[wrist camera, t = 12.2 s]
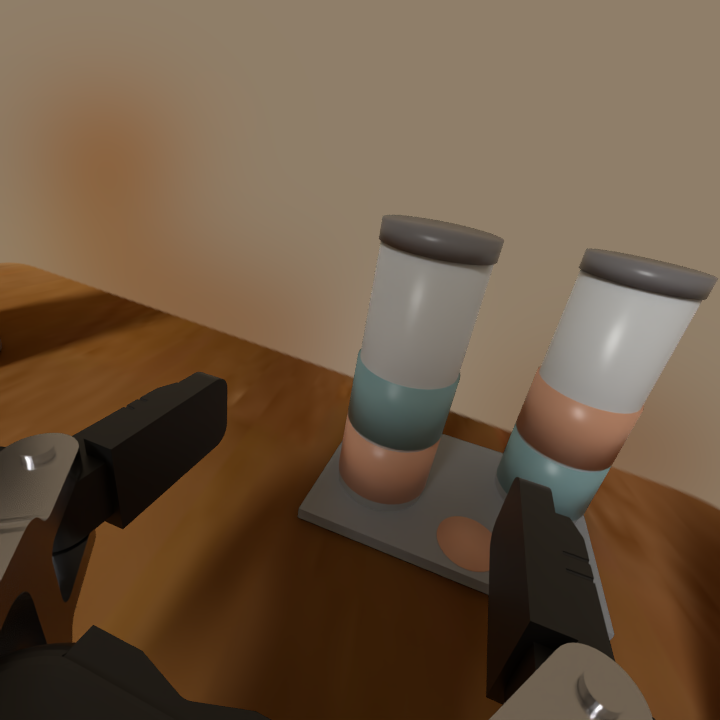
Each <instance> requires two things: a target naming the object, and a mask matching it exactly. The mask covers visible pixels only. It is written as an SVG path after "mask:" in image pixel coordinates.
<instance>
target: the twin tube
mask: <svg viewBox="0 0 720 720" xmlns="http://www.w3.org/2000/svg"><path fill="white" fill-rule="evenodd" d="M579 268H580V269H581V270H580V272H579V275H578V277H577V280H576V282H575V284H574V287H573V290H572V292H571V294H570V297H569V299H568V302H567V304H566V307H565V309H564V312H563V314H562V316H561V319H560V321H559V324H558V326H557V328H556V331H555V333H554V336H553V338H552V341H551V343H550V346H549V348H548V350H547V353H546V355H545V358H544V360H543V363H542V365H541V366H540V367H539V368H538V370H537V372H536V374H535V377H534V379H533V382H532V384H531V387H530V389H529V392H528V394H527V396H526V399H525V401H524V404H523V406H522V409H521V412H520V414H519V416H518V419H517V421H516V424H515V426H514V428H513V431H512V433H511V436H510V438H509V441H508V443H507V446H506V448H505V451H504V453H503V456H502V458H501V460H500V463H499V465H498V468H497V475H496V478H495V484H496V488H497V490H498V493H499V494H500V496H501V497H502V499H503V500H504V501H505V499H506V496H507V494H508V492H509V489H510V487H511V485H512V483H513V481H514V479H515V478H516V477H519V478H522V479H525V480H528V481H531V482H534V483H538V484H541V485H544V486H547V487H549V488H550V489H551V491H552V496H553V501H554V507H555V512H556V513H558V514H561V515H564V516H567V517H570V519H571V520H572V522H573V523H574V524H575V523H576V522H577V521H578V519H579V518H581V517H582V516H583V515H584V513H585V511H586V509H587V508H588V506H589V504H590V502H591V501H592V499H593V497H594V495H595V494H596V492H597V490H598V488H599V487H600V485H601V483H602V481H603V480H604V478H605V476H606V474H607V473H608V471H609V469H610V467H611V465H612V464H613V462H614V460H615V459H616V457H617V455H618V453H619V451H620V450H621V448H622V446H623V445H624V443H625V441H626V439H627V437H628V436H629V434H630V432H631V431H632V429H633V427H634V425H635V423H636V422H637V420H638V418H639V417H640V415H641V413H642V411H643V410H644V405H643V404H644V402H645V401H646V399H647V397H648V395H649V393H650V392H651V390H652V388H653V387H654V385H655V383H656V381H657V379H658V378H659V376H660V374H661V372H662V371H663V369H664V367H665V365H666V364H667V362H668V360H669V358H670V357H671V355H672V353H673V351H674V349H675V348H676V346H677V344H678V342H679V341H680V339H681V337H682V335H683V333H684V332H685V330H686V328H687V327H688V325H689V323H690V321H691V319H692V318H693V316H694V314H695V312H696V311H697V309H698V307H699V305H700V304H701V302H702V300H705V299H707V297H708V296H709V294H710V292H711V290H712V289H713V287H714V285H715V283H716V281H717V280H718V278H717V277H715V276H712V275H710V274H707V273H704V272H700V271H697V270H694V269H690V268H686V267H683V266H678V265H675V264H671V263H666V262H662V261H658V260H653V259H649V258H644V257H639V256H634V255H629V254H624V253H619V252H613V251H607V250H600V249H586V251H585V254H584V256H583V259H582V262H581V264H580V266H579Z"/></svg>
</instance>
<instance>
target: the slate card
mask: <svg viewBox="0 0 720 720" xmlns="http://www.w3.org/2000/svg"><path fill="white" fill-rule="evenodd" d="M342 442H343V441H342ZM342 442H341V444H340V445H339V447H338V448H337V450H336V451H335V453H334V454H333V456H332V458H331V459H330V461H329V462H328V464H327V465H326V467H325V468H324V470H323V472H322V473H321V475H320V476H319V478H318V479H317V481H316V482H315V484H314V485H313V487H312V489H311V490H310V492H309V493H308V495H307V496H306V498H305V499H304V501H303V503H302V504H301V506H300V507H299V510H298V518H301V519H303V520H306V521H308V522H311V523H313V524H316V525H318V526H320V527H323V528H325V529H328V530H330V531H333V532H335V533H338V534H340V535H343V536H345V537H347V538H350V539H352V540H355V541H357V542H360V543H362V544H365V545H367V546H370V547H372V548H375V549H377V550H379V551H382V552H384V553H387V554H389V555H392V556H394V557H397V558H399V559H402V560H404V561H406V562H409V563H411V564H414V565H416V566H419V567H421V568H424V569H426V570H429V571H431V572H434V573H436V574H438V575H441V576H443V577H446V578H448V579H451V580H453V581H456V582H458V583H461V584H463V585H465V586H468V587H470V588H473V589H475V590H478V591H480V592H483V593H485V594H488V595H489V558H490V541H491V536H492V531H493V528H494V524H495V522H496V519H497V517H498V515H499V512H500V510H501V508H502V505H503V503H504V500H503V499H502V497H501V496H500V494H499V493H498V490H497V488H496V484H495V478H496V475H497V468H498V465H499V463H500V460H501V458H502V456H503V453H500V452H497V451H494V450H491V449H488V448H485V447H482V446H478V445H475V444H472V443H469V442H466V441H463V440H460V439H457V438H454V437H451V436H448V435H445V434H442V435H441V439H440V442H439V445H438V448H437V451H436V454H435V457H434V460H433V463H432V466H431V470H430V473H429V476H428V479H427V482H426V485H425V488H424V490H423V491H422V493H421V494H420V497H419V498H418V500H417V501H416V502H415V503H414V504H413V505H411V506H410V507H408V508H405V509H403V510H398V511H379V510H374V509H371V508H368V507H366V506H364V505H362V504H360V503H358V502H357V501H355V500H354V499H353V498H351V497H350V496H349V495H348V494H347V492H346V491H345V490H344V488H343V487H342V485H341V482H340V479H339V459H340V453H341V447H342ZM574 525H575V526H576V528H577V529H578V530H579V532H580V533H581V535H582V536H583V538H584V540H585V544H586V548H587V552H588V556H589V564H590V565H591V568H592V572H593V576H594V580H593V583H595V584H596V588H597V592H598V596H599V600H600V604H601V608H602V612H603V616H604V620H605V624H606V628H607V632H608V636H609V640H611V639H612V637H613V636H614V631H613V627H612V624H611V620H610V616H609V612H608V608H607V604H606V600H605V596H604V592H603V588H602V584H601V581H600V577H599V573H598V569H597V565H596V561H595V557H594V553H593V549H592V545H591V542H590V538H589V534H588V530H587V526H586V522H585V518H584V515H583V516H582V517H581V518H579V519H578V521H577V522H576V523H575V524H574Z"/></svg>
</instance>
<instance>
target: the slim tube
mask: <svg viewBox="0 0 720 720" xmlns="http://www.w3.org/2000/svg"><path fill="white" fill-rule="evenodd" d="M379 239H380V240H381V243H380V249H379V254H378V260H377V265H376V271H375V277H374V282H373V287H372V293H371V298H370V304H369V310H368V315H367V321H366V327H365V332H364V337H363V342H362V348H361V349H360V351H359V353H358V358H357V364H356V369H355V375H354V380H353V386H352V392H351V397H350V403H349V408H348V414H347V420H346V425H345V431H344V436H343V442H342V447H341V453H340V459H339V479H340V482H341V485H342V487H343V488H344V490H345V491H346V492H347V494H348V495H349V496H350V497H351V498H353V499H354V500H355V501H357V502H358V503H360V504H362V505H364V506H366V507H368V508H371V509H374V510H379V511H398V510H403V509H405V508H408V507H410V506H411V505H413V504H414V503H415V502H416V501H417V500H418V498H419V497H420V494H421V493H422V491H423V490H424V488H425V485H426V482H427V479H428V476H429V473H430V470H431V466H432V463H433V460H434V457H435V454H436V451H437V448H438V445H439V442H440V439H441V435H442V432H443V429H444V426H445V423H446V420H447V417H448V414H449V411H450V407H451V404H452V401H453V398H454V395H455V392H456V389H457V385H458V383H459V380H460V369H461V366H462V362H463V359H464V356H465V353H466V350H467V347H468V344H469V340H470V338H471V334H472V331H473V328H474V324H475V322H476V319H477V315H478V312H479V309H480V306H481V303H482V300H483V297H484V293H485V290H486V287H487V284H488V281H489V278H490V275H491V272H492V268H493V265H494V264H496V263H497V261H498V258H499V255H500V252H501V249H502V246H503V243H504V240H503V239H502V238H500V237H498V236H496V235H493V234H490V233H487V232H484V231H480V230H477V229H474V228H470V227H466V226H461V225H457V224H453V223H448V222H443V221H438V220H432V219H426V218H419V217H412V216H402V215H385V216H383V218H382V224H381V229H380V236H379Z"/></svg>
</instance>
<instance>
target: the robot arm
mask: <svg viewBox="0 0 720 720" xmlns="http://www.w3.org/2000/svg"><path fill="white" fill-rule="evenodd" d="M1 348H2V342H1V339H0V351H1ZM226 427H227V383H226V381H225V380H224V379H221V378H218V377H215V376H212V375H208V374H205V373H202V372H196V373H194V374H193V375H191V376H189V377H187V378H186V379H184V380H182V381H181V382H179V383H174V384H170V385H167V386H163V387H160V388H157V389H155V390H153V391H151V392H149V393H148V394H146V395H144V396H142V397H141V398H140V400H138V399H137V400H135V401H134V402H132V403H130V404H128V405H127V407H126V408H125V407H123V408H121V409H119V410H118V411H116V412H114V413H112V414H110V415H109V416H107V417H105V418H103V419H102V420H100V421H98V422H96V423H95V424H93V425H91V426H89V427H87V428H86V429H84V430H82V431H80V432H79V433H77V434H75V435H73V436H69V435H67V434H61V433H46V434H39V435H34V436H30V437H27V438H24V439H21V440H19V441H17V442H14V443H13V444H11V445H9V446H7V447H0V720H271V719H269V718H267V717H265V716H263V715H262V714H260V713H258V712H256V711H251V710H244V709H238V708H231V707H225V706H218V705H212V704H205V703H199V702H192V701H188V700H186V699H184V698H182V697H181V696H180V695H179V694H178V693H177V691H176V690H175V689H174V688H173V687H172V685H171V684H170V683H169V682H168V681H167V680H166V678H165V677H164V676H163V675H162V674H161V673H160V671H159V670H158V669H157V668H156V667H155V665H154V664H153V663H152V662H151V661H150V660H149V658H148V657H147V656H146V655H145V654H144V652H143V651H141V650H140V649H138V648H136V647H134V646H132V645H130V644H128V643H126V642H124V641H123V640H121V639H119V638H117V637H115V636H113V635H111V634H109V633H108V632H106V631H104V630H102V629H100V628H98V627H96V626H94V625H93V626H92V627H91V628H90V629H89V630H88V631H87V632H86V633H85V634H84V635H83V636H82V637H81V638H80V639H79V640H78V641H77V642H76V643H72V625H73V617H74V612H75V608H76V605H77V601H78V598H79V594H80V591H81V587H82V584H83V580H84V577H85V574H86V570H87V567H88V563H89V560H90V556H91V553H92V549H93V546H94V542H95V538H96V531H95V529H96V528H97V527H98V526H99V525H100V524H102V523H103V522H104V521H106V522H108V523H110V524H112V525H115V526H117V527H119V528H121V529H124V528H125V527H126V526H127V525H128V524H129V523H130V522H132V521H133V520H134V519H135V518H136V517H137V516H138V515H139V514H141V513H142V512H143V511H144V510H145V509H146V508H147V507H148V506H150V505H151V504H152V503H153V502H154V501H155V500H156V499H157V498H159V497H160V496H161V495H162V494H163V493H164V492H165V491H166V490H168V489H169V488H170V487H171V486H172V485H173V484H174V483H175V482H177V481H178V480H179V479H180V478H181V477H182V476H183V475H184V474H186V473H187V472H188V471H189V470H190V469H191V468H192V467H193V466H195V465H196V464H197V463H198V462H199V461H200V460H201V459H202V458H204V457H205V456H206V455H207V454H208V453H209V452H210V451H211V450H213V449H214V448H215V447H216V446H217V445H218V444H219V443H220V441H221V440H222V438H223V436H224V434H225V431H226ZM593 580H594V576H593V572H592V568H591V565H590V564H589V556H588V552H587V548H586V544H585V540H584V538H583V536H582V535H581V533H580V532H579V530H578V529H577V528H576V526H575V525H574V523H573V522H572V520H571V519H570V517H567V516H564V515H561V514H558V513H556V512H555V507H554V501H553V496H552V491H551V489H550V488H549V487H547V486H544V485H541V484H538V483H534V482H531V481H528V480H525V479H522V478H519V477H516V478H515V479H514V481H513V483H512V485H511V487H510V489H509V492H508V494H507V496H506V499H505V501H504V503H503V505H502V508H501V510H500V512H499V515H498V517H497V519H496V522H495V524H494V528H493V531H492V536H491V541H490V558H489V601H488V644H487V687H486V697H487V698H490V699H492V700H494V701H496V702H498V703H501V704H503V706H502V707H501V708H500V709H499V710H498V711H497V712H496V713H495V714H494V715H493V716H492V717H491V718H490V719H489V720H655V719H654V718H653V717H652V715H651V712H650V710H649V707H648V705H647V702H646V701H645V699H644V697H643V695H642V693H641V692H640V690H639V689H638V687H637V686H636V684H635V683H634V682H633V680H632V679H631V678H630V677H629V675H628V674H627V673H626V672H625V671H624V670H623V669H622V668H621V667H620V666H619V665H618V664H617V663H616V662H615V659H614V656H613V652H612V648H611V644H610V640H609V636H608V632H607V628H606V624H605V620H604V616H603V612H602V608H601V604H600V600H599V596H598V592H597V588H596V584H595V583H593Z"/></svg>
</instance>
